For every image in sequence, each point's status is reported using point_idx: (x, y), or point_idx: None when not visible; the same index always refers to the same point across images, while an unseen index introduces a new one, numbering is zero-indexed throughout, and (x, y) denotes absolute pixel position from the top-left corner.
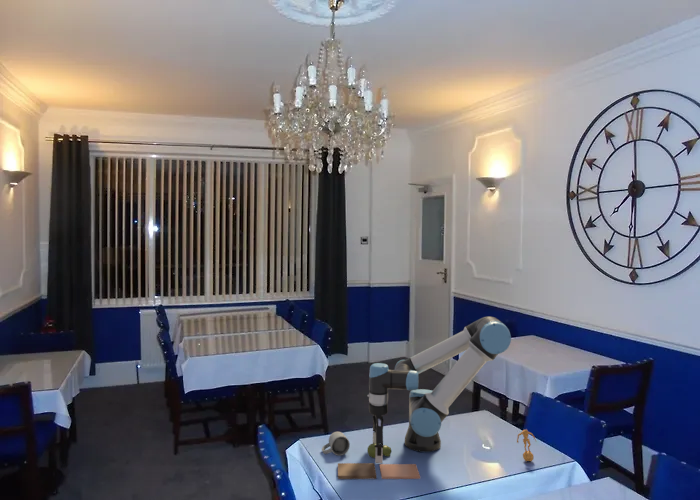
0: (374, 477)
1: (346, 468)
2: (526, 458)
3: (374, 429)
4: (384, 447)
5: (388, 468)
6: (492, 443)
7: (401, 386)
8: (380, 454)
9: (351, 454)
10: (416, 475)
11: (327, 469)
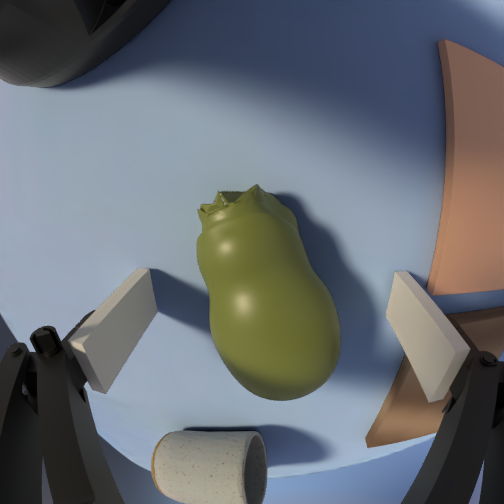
0: None
1: (422, 421)
2: None
3: (89, 413)
4: (279, 275)
5: (487, 244)
6: None
7: None
8: (454, 327)
9: (248, 409)
10: None
11: (376, 451)
